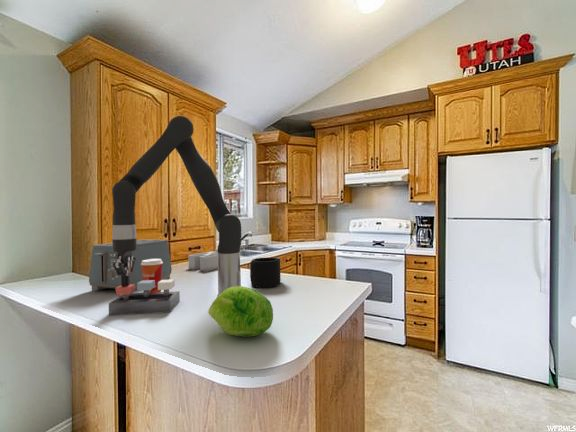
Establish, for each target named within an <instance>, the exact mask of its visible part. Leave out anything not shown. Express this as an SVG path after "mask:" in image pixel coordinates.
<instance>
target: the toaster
mask: <svg viewBox="0 0 576 432" xmlns="http://www.w3.org/2000/svg"><path fill="white" fill-rule="evenodd" d="M132 253H133V257H135V258H136V260H135V264H134V267H133V271H132V272H131V274H130V275H129V281H130V284H135V291H137V283H139V282H140V281H143V274H142V265H141V263H142V261H143V260H147V259H148V260H149V259H161V260H162V262H163V263H162V277H161V280H170V279H171V274H172V263H171V254H170V247H169V243H168V239H142V238H141V239H137V249H136V250H135V251H132ZM116 262H117V252H114V251H113V246H112V242H111V243H109V242H108V243H102V244H93V245H92V249H91V258H90V266H89V267H90V268H89V278H88V282H89V283H88V284H89V286H91V291H92V292H99V291H102V290H107V289H114V290H115V292H116V288H117V287H119V286H120V285H121V276H120V275H117V273H116V271H115V268H114V266H113V263H116Z"/></svg>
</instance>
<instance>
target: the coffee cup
mask: <svg viewBox="0 0 576 432" xmlns="http://www.w3.org/2000/svg"><path fill="white" fill-rule="evenodd" d="M162 263H163V262H162V260H161V259H149V260H148V259H147V260H143V261H142V263H141V265H142V274H143V280H155V287H154V288H153V289H151V290H149V293H150V292H162V290H158V282H160V281H161V277H162Z"/></svg>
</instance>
